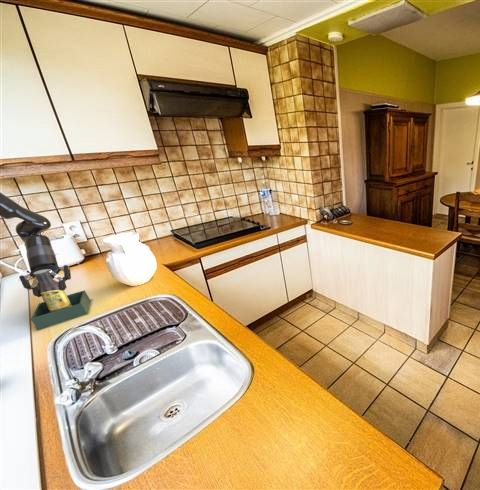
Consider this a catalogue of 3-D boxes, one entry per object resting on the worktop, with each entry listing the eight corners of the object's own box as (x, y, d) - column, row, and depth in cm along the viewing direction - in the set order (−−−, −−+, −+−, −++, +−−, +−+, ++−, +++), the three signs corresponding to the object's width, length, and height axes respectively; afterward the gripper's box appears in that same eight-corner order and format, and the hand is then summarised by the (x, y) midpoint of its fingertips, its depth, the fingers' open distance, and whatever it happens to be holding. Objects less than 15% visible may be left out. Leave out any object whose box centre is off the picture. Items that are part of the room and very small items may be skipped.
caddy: (38, 329, 105) (30, 319, 103) (45, 313, 115) (38, 303, 113) (87, 313, 113) (81, 303, 111) (90, 300, 123) (84, 290, 121)
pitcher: (165, 279, 138) (147, 235, 128) (120, 295, 126) (95, 247, 116) (157, 268, 150) (140, 227, 140) (115, 282, 138) (93, 238, 128)
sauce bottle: (49, 318, 110) (22, 277, 102) (57, 310, 115) (31, 270, 107) (71, 313, 113) (45, 272, 105) (77, 305, 118) (53, 266, 110)
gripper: (10, 260, 105) (18, 297, 101) (62, 249, 113) (71, 283, 110) (21, 267, 111) (30, 302, 107) (69, 256, 119) (79, 289, 116)
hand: (51, 292), depth 109 cm, fingers closed on sauce bottle, 6 cm apart
